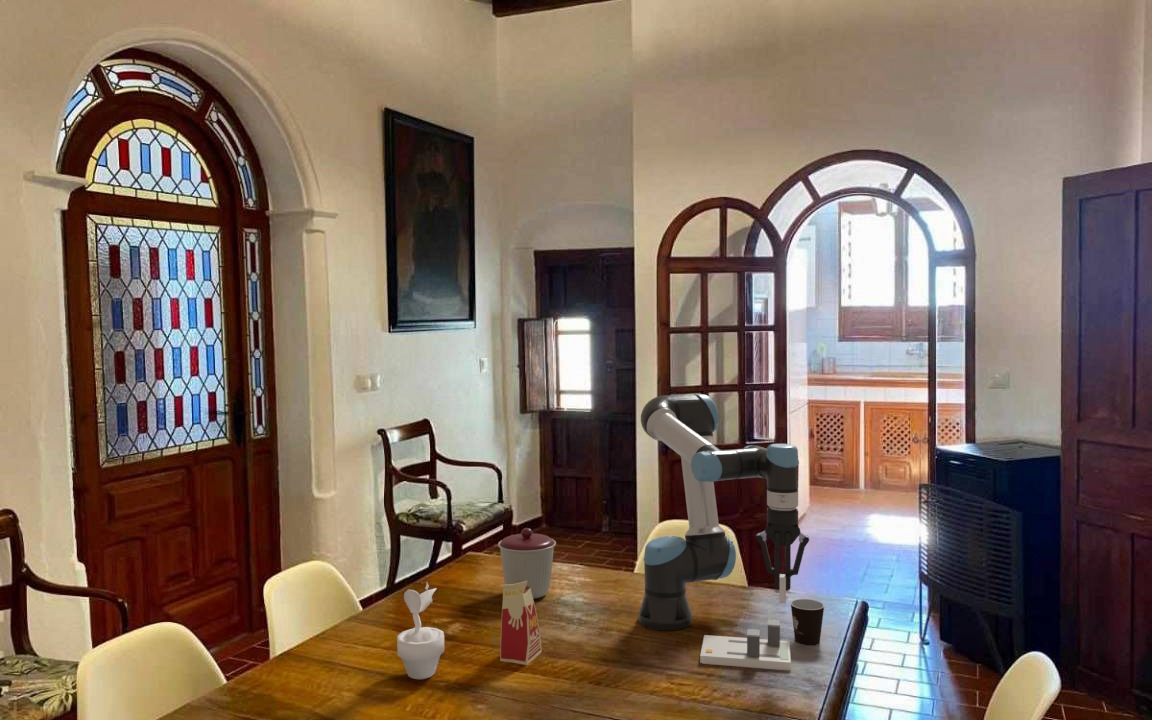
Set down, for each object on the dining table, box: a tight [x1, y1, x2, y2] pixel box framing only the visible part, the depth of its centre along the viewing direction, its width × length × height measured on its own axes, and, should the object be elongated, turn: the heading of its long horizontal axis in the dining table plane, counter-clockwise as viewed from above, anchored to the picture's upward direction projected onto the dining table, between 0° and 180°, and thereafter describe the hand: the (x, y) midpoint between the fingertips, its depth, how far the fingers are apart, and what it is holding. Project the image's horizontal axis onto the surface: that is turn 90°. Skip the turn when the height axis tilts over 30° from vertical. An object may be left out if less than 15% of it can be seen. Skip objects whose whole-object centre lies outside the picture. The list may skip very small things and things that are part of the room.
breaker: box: [767, 618, 781, 646], centre depth 221 cm, size 3×4×5 cm
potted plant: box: [396, 582, 445, 680], centre depth 209 cm, size 13×12×25 cm
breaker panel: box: [699, 634, 792, 671], centre depth 219 cm, size 22×14×2 cm, turn 77°
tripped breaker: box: [746, 628, 761, 657], centre depth 214 cm, size 3×4×5 cm
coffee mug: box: [790, 598, 825, 647], centre depth 229 cm, size 12×9×10 cm
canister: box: [497, 527, 557, 600], centre depth 268 cm, size 18×18×21 cm
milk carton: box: [499, 581, 543, 666], centre depth 220 cm, size 9×9×20 cm
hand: (782, 601), depth 212 cm, fingers closed
